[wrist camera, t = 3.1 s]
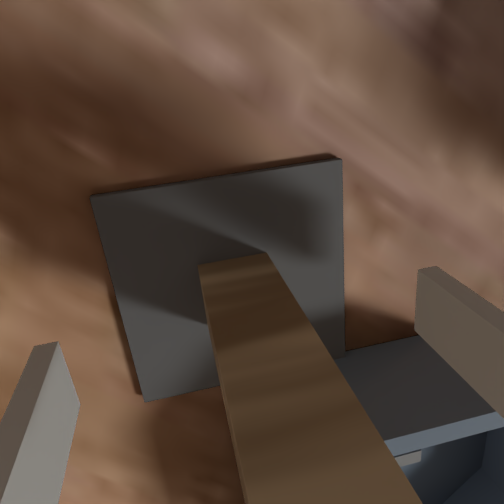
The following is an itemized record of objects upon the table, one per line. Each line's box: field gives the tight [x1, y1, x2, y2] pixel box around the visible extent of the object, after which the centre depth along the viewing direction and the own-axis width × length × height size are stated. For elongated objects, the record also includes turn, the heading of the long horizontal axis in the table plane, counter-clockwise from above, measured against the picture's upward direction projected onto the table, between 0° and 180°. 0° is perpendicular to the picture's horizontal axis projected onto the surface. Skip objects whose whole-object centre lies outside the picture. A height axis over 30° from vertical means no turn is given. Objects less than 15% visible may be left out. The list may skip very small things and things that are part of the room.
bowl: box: [334, 335, 504, 504], centre depth 23 cm, size 16×16×6 cm
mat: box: [90, 158, 345, 402], centre depth 19 cm, size 10×10×1 cm
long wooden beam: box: [197, 252, 423, 504], centre depth 13 cm, size 3×3×12 cm
